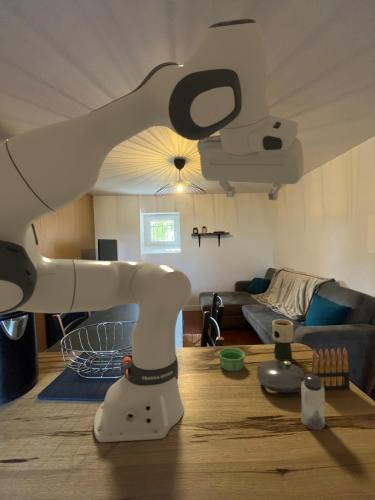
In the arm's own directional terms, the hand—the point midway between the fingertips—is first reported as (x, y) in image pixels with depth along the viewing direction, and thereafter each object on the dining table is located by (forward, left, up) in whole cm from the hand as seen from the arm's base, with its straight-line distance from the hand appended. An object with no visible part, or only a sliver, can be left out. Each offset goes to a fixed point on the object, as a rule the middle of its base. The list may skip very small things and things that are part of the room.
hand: (251, 197), depth 56 cm
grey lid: (+16, +14, -54) cm, 58 cm away
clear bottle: (+15, -1, -54) cm, 56 cm away
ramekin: (+7, +29, -54) cm, 62 cm away
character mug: (+27, +29, -54) cm, 67 cm away
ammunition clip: (+29, +9, -54) cm, 62 cm away
